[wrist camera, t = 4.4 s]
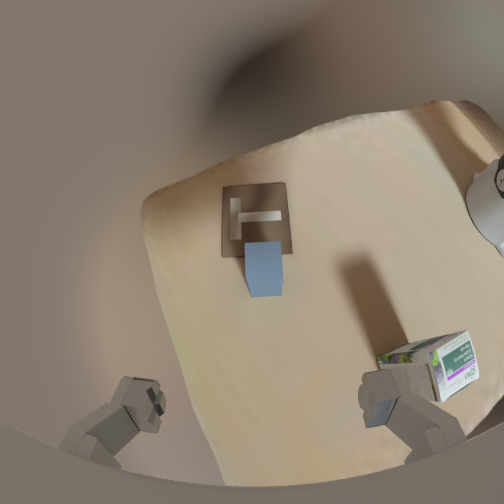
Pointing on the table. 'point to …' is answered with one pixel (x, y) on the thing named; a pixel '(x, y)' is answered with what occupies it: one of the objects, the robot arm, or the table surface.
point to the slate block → (264, 268)
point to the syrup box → (435, 365)
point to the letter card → (255, 217)
